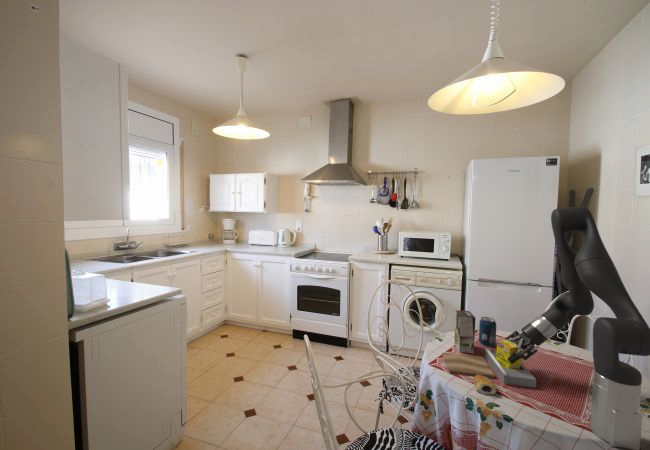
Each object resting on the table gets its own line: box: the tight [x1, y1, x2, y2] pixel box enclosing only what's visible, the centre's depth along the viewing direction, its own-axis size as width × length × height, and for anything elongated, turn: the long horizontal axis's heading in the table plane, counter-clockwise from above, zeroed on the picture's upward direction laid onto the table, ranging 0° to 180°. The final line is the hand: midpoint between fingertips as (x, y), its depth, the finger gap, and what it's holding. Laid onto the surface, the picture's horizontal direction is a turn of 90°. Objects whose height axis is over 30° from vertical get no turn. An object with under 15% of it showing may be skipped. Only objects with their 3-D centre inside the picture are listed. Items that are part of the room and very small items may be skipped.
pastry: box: [472, 374, 497, 395], centre depth 102 cm, size 9×7×4 cm
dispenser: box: [484, 346, 537, 389], centre depth 112 cm, size 20×10×4 cm, turn 169°
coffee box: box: [454, 309, 476, 354], centre depth 130 cm, size 9×6×16 cm
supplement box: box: [496, 339, 522, 370], centre depth 112 cm, size 6×6×11 cm
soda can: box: [478, 316, 497, 348], centre depth 135 cm, size 7×7×12 cm
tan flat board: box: [441, 352, 496, 379], centre depth 115 cm, size 14×16×1 cm
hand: (504, 356), depth 113 cm, fingers closed on supplement box, 8 cm apart
